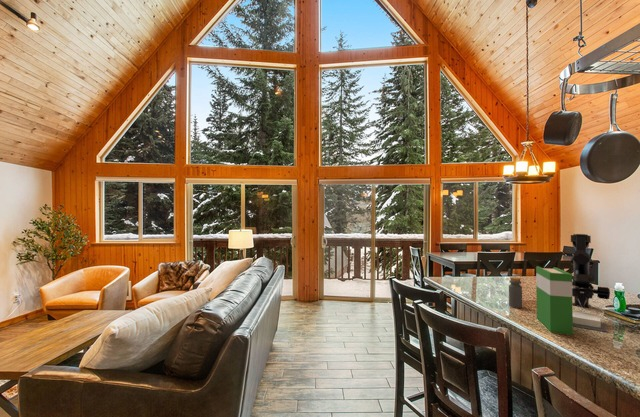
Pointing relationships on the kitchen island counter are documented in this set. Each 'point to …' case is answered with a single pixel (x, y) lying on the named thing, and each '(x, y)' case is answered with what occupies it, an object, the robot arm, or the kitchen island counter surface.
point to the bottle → (515, 292)
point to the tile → (586, 319)
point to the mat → (603, 327)
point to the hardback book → (554, 300)
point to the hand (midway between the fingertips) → (582, 306)
